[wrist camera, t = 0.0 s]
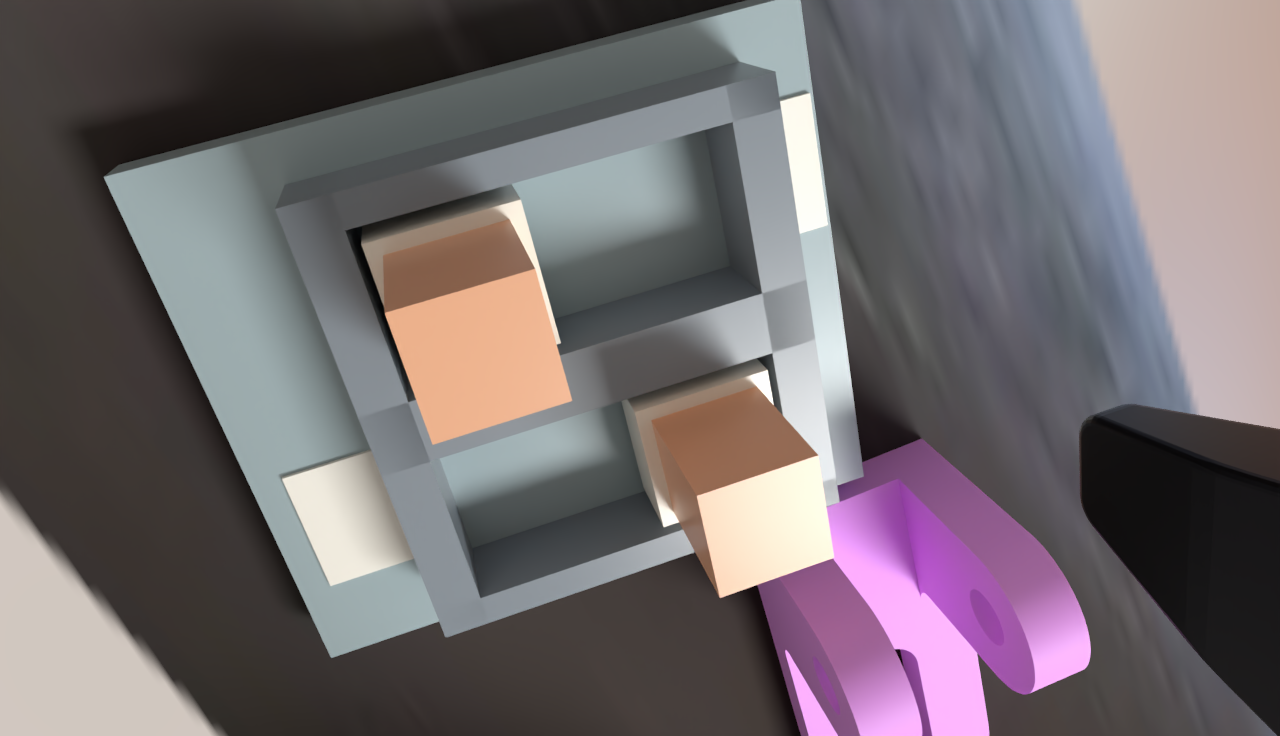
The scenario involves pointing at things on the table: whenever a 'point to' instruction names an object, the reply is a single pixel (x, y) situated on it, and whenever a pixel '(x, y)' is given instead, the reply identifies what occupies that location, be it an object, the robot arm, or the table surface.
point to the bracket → (920, 607)
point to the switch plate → (577, 291)
